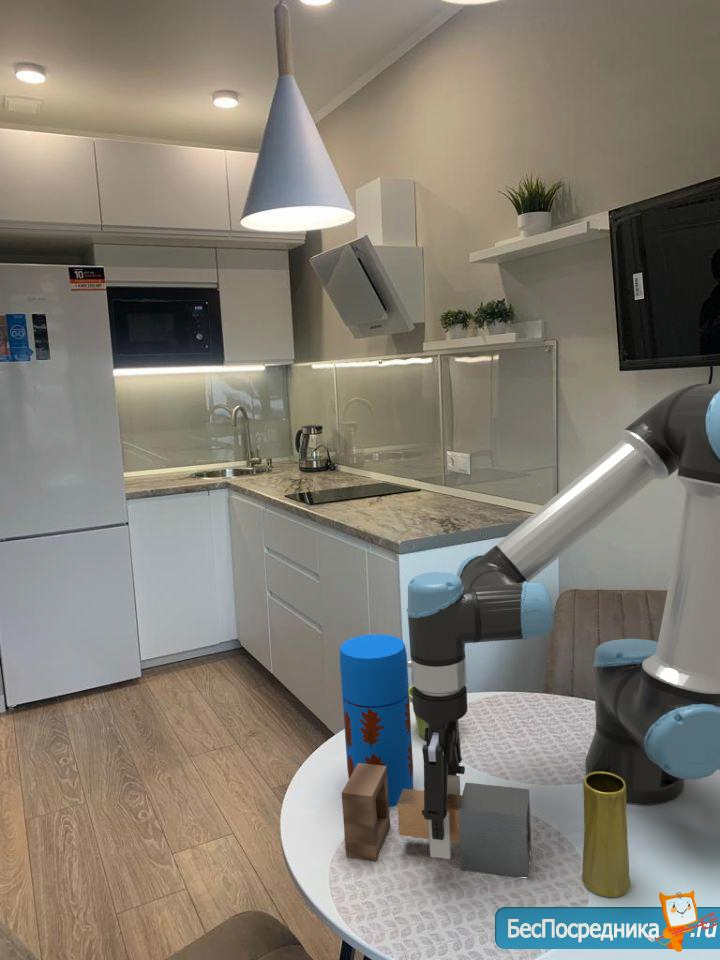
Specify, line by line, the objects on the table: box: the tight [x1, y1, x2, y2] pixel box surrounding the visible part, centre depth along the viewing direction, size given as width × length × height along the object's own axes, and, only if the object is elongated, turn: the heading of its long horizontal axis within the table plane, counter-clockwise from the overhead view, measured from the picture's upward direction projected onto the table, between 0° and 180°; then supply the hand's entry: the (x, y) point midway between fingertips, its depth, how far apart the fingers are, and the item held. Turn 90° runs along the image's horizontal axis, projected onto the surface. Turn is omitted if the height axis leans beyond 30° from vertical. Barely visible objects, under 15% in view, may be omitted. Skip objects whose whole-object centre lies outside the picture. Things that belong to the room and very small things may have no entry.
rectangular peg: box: [396, 789, 528, 844], centre depth 102 cm, size 18×4×5 cm, turn 73°
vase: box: [581, 771, 632, 898], centre depth 95 cm, size 6×6×14 cm
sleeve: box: [458, 782, 532, 878], centre depth 101 cm, size 9×6×9 cm
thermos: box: [339, 633, 414, 808], centre depth 119 cm, size 11×11×25 cm
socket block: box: [341, 763, 391, 862], centre depth 107 cm, size 4×8×10 cm, turn 163°
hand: (446, 835), depth 103 cm, fingers open, 8 cm apart
